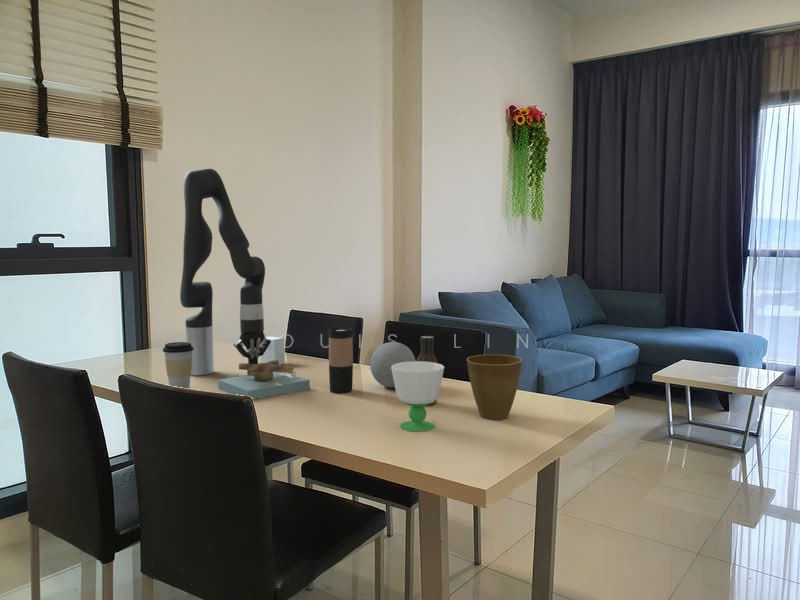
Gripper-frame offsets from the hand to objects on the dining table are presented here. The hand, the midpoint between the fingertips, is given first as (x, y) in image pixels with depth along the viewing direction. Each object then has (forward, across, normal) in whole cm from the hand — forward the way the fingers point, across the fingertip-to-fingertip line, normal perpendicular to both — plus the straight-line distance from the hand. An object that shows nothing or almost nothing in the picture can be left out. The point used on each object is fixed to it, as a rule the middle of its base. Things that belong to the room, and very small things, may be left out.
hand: (253, 369), depth 205 cm
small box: (+6, +23, +28) cm, 37 cm away
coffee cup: (+6, -21, +11) cm, 24 cm away
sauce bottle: (+6, +28, -54) cm, 61 cm away
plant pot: (+6, +32, -76) cm, 83 cm away
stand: (+6, 0, -6) cm, 8 cm away
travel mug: (+6, +17, -25) cm, 31 cm away
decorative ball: (+6, +33, -32) cm, 47 cm away
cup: (+6, +10, -69) cm, 70 cm away
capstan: (+2, +1, -7) cm, 8 cm away
